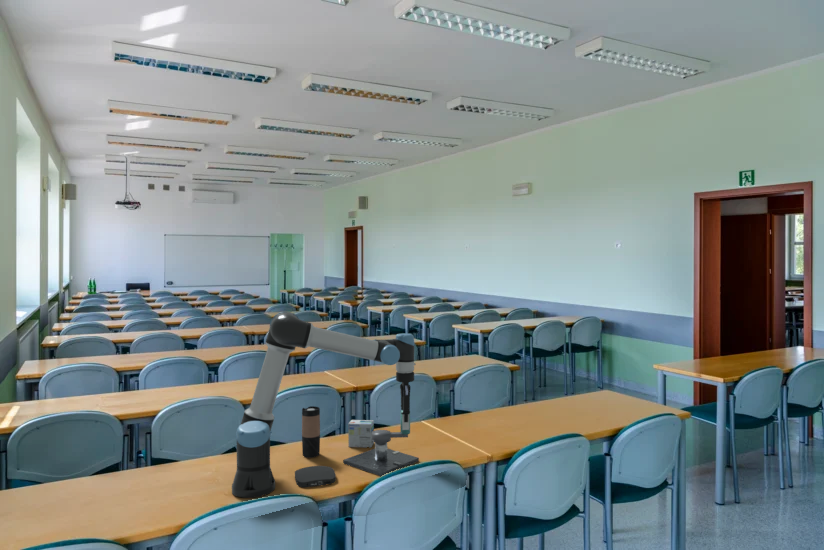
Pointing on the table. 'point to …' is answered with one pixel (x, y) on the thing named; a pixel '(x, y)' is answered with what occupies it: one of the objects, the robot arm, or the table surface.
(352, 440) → the light bulb box
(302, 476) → the media streaming box
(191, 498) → the table surface
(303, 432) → the travel mug
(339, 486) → the table surface
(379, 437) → the crank handle
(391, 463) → the post base
